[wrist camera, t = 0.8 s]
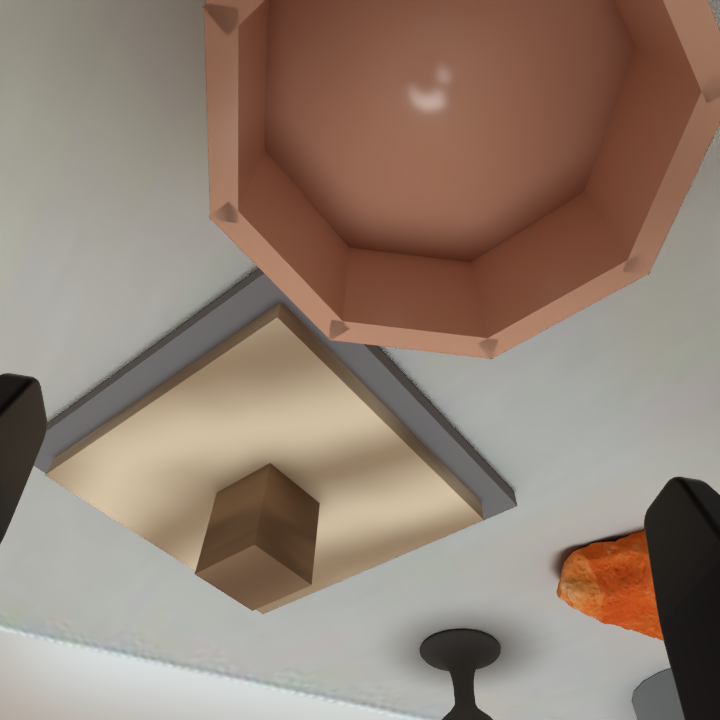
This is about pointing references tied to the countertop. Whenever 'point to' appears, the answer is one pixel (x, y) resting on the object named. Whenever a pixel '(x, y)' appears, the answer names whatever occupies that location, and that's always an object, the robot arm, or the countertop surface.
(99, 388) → the mat
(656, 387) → the countertop surface
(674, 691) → the spray bottle
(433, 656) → the sundae
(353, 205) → the bowl
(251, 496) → the lid
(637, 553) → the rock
